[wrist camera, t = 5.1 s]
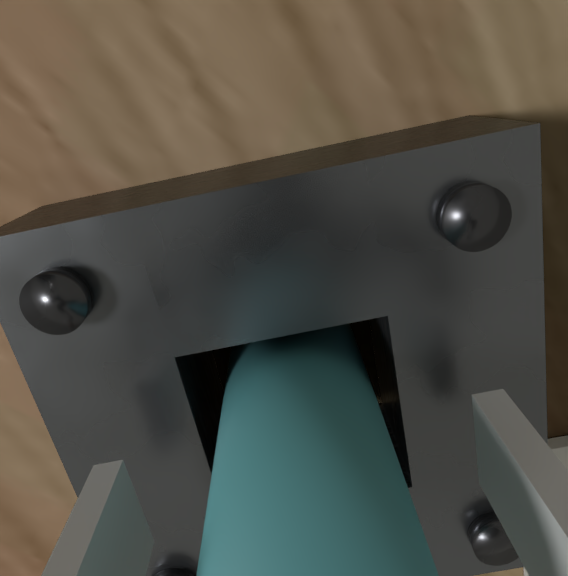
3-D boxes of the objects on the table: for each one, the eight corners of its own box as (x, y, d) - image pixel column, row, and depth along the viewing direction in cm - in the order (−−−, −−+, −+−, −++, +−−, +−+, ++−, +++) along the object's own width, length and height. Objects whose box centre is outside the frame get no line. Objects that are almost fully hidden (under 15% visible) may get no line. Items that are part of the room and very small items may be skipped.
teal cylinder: (246, 415, 20) (213, 886, 8) (217, 307, 18) (122, 701, 6) (364, 392, 20) (507, 843, 8) (345, 282, 18) (490, 640, 6)
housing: (163, 528, 22) (133, 650, 17) (42, 206, 17) (-49, 250, 12) (493, 468, 21) (560, 578, 16) (469, 115, 16) (553, 124, 11)
